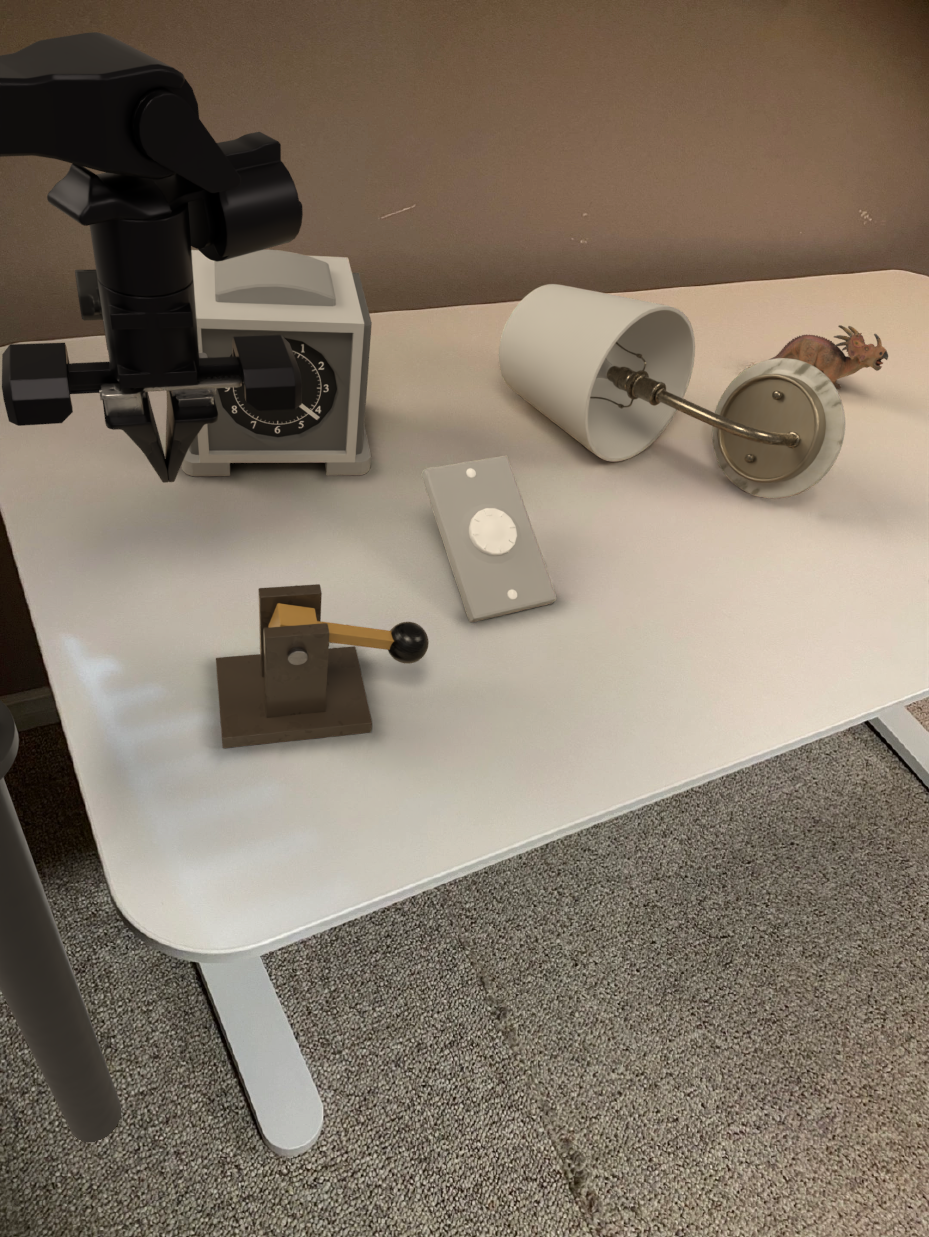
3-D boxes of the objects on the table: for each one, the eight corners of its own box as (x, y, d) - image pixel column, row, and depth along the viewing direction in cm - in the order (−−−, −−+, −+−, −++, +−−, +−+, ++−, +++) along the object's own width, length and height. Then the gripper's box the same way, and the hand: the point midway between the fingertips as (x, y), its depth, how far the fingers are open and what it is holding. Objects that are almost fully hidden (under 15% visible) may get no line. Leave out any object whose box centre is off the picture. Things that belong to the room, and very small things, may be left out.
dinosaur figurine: (859, 389, 121) (891, 324, 115) (861, 412, 117) (895, 345, 111) (756, 363, 123) (782, 297, 116) (754, 384, 119) (781, 317, 112)
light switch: (477, 616, 79) (426, 463, 82) (455, 635, 84) (408, 491, 87) (562, 596, 82) (511, 449, 85) (536, 615, 88) (489, 477, 91)
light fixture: (709, 542, 84) (465, 407, 103) (802, 531, 97) (570, 413, 117) (788, 360, 77) (510, 252, 96) (877, 375, 90) (617, 277, 110)
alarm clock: (181, 476, 90) (165, 296, 77) (183, 401, 99) (168, 229, 86) (371, 475, 94) (385, 304, 81) (356, 403, 103) (366, 239, 90)
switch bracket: (354, 655, 76) (361, 567, 69) (371, 732, 71) (380, 644, 64) (216, 667, 73) (209, 576, 67) (222, 748, 68) (215, 658, 61)
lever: (414, 644, 73) (430, 615, 71) (423, 674, 71) (439, 646, 69) (265, 624, 68) (278, 593, 66) (269, 657, 66) (283, 625, 64)
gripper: (273, 221, 66) (275, 411, 77) (-17, 220, 60) (29, 425, 71) (305, 296, 59) (301, 493, 70) (-22, 303, 53) (31, 517, 64)
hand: (167, 479), depth 69 cm, fingers closed
